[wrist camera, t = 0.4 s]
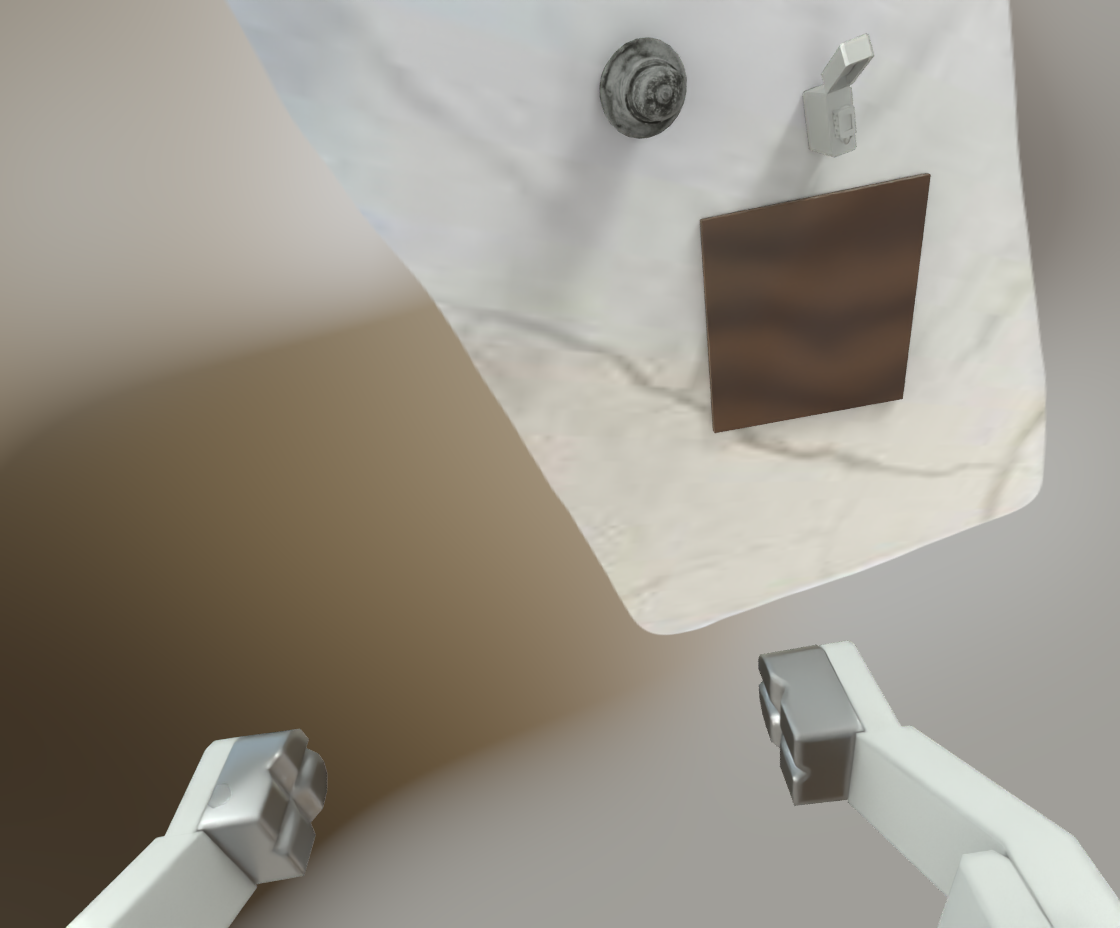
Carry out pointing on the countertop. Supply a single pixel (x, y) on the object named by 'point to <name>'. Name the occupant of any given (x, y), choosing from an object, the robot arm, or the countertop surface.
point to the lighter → (836, 100)
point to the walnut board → (812, 302)
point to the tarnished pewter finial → (643, 87)
